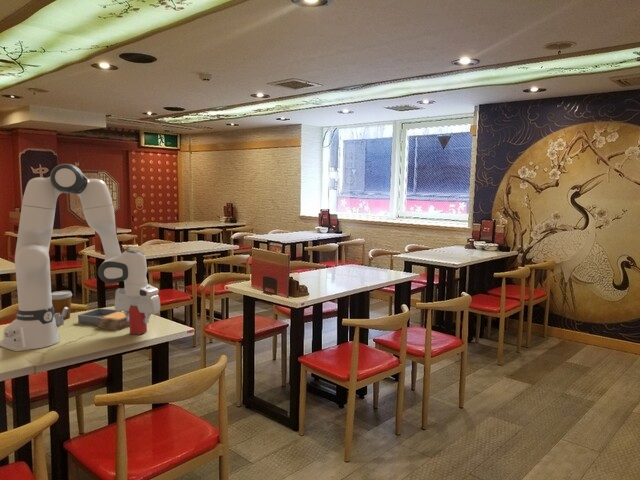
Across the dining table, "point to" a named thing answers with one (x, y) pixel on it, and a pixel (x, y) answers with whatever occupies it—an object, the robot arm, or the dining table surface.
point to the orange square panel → (116, 316)
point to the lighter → (60, 316)
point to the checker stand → (113, 323)
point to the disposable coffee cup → (61, 302)
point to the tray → (94, 315)
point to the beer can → (136, 321)
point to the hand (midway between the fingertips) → (137, 322)
